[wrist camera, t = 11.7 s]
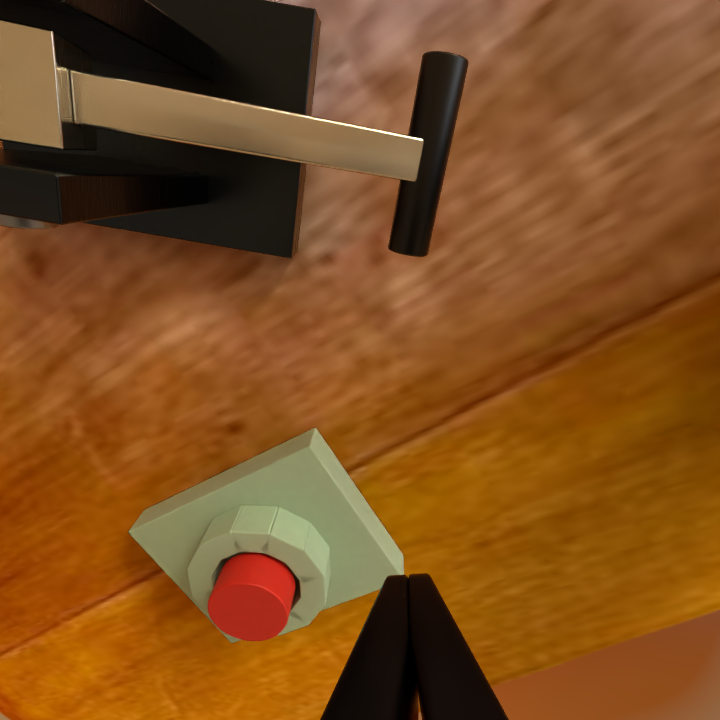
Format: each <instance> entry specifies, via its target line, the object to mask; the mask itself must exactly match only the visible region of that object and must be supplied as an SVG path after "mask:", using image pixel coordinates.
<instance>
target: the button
mask: <svg viewBox="0 0 720 720" xmlns="http://www.w3.org/2000/svg"><path fill="white" fill-rule="evenodd" d="M294 592H295V579H294V576H293V574H292V572H291V571H290V569H289V568H288V567H287V566H286V565H285V564H284V563H283V562H281V561H280V560H278V559H276V558H274V557H272V556H270V555H267V554H263V553H255V552H249V553H242V554H239V555H236V556H234V557H232V558H231V559H229V560H228V561H227V562H226V563H225V564H224V566H223V567H222V569H221V572H220V574H219V576H218V579H217V581H216V583H215V586H214V588H213V590H212V593H211V595H210V597H209V600H208V613H209V616H210V618H211V620H212V621H213V623H214V624H215V625H216V626H217V627H218V628H219V629H220V630H222V631H223V632H225V633H226V634H228V635H230V636H232V637H235V638H238V639H241V640H247V641H262V640H267V639H270V638H273V637H275V636H276V635H278V634H279V633H280V632H281V631H282V630H283V629H284V628H285V626H286V624H287V622H288V618H289V614H290V609H291V605H292V601H293V596H294Z"/></svg>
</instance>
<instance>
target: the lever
mask: <svg viewBox="0 0 720 720" xmlns="http://www.w3.org/2000/svg"><path fill="white" fill-rule="evenodd" d="M467 68H468V60H467V59H466V58H464V57H463V56H460V55H457V54H454V53H449V52H442V51H431V52H426V53H424V54H423V56H422V61H421V67H420V72H419V78H418V83H417V89H416V95H415V100H414V106H413V111H412V117H411V122H410V128H409V134H408V135H405V134H400V133H395V132H389V131H384V130H379V129H374V128H369V127H364V126H359V125H354V124H349V123H344V122H339V121H334V120H329V119H324V118H319V117H314V116H309V115H303V114H298V113H293V112H288V111H283V110H278V109H273V108H268V107H263V106H258V105H253V104H248V103H243V102H238V101H233V100H228V99H223V98H217V97H212V96H207V95H202V94H197V93H192V92H187V91H182V90H177V89H172V88H167V87H162V86H157V85H152V84H147V83H142V82H137V81H132V80H126V79H121V78H116V77H111V76H106V75H101V74H96V73H93V68H92V55H91V53H89V52H87V51H86V50H84V49H82V48H81V47H79V46H77V45H76V44H74V43H72V42H71V41H69V40H67V39H66V38H64V37H62V36H61V35H59V34H57V33H56V32H54V31H52V30H51V29H46V28H42V27H37V26H33V25H28V24H23V23H19V22H14V21H9V20H5V19H0V141H7V142H13V143H19V144H26V145H32V146H38V147H45V148H51V149H58V150H82V151H96V150H97V133H96V128H98V129H104V130H110V131H116V132H122V133H128V134H133V135H139V136H145V137H151V138H157V139H163V140H169V141H174V142H180V143H186V144H192V145H198V146H204V147H210V148H216V149H221V150H227V151H233V152H239V153H245V154H251V155H257V156H262V157H268V158H274V159H280V160H286V161H292V162H298V163H304V164H309V165H315V166H321V167H327V168H333V169H339V170H345V171H350V172H356V173H362V174H368V175H374V176H380V177H386V178H391V179H397V180H400V184H399V189H398V195H397V201H396V206H395V212H394V217H393V223H392V229H391V234H390V240H389V245H388V249H389V250H391V251H393V252H396V253H399V254H403V255H409V256H416V257H424V256H427V255H428V251H429V246H430V241H431V237H432V232H433V227H434V223H435V218H436V213H437V209H438V204H439V199H440V194H441V190H442V185H443V180H444V176H445V171H446V166H447V162H448V157H449V152H450V148H451V143H452V138H453V134H454V129H455V124H456V120H457V115H458V110H459V106H460V101H461V96H462V92H463V87H464V82H465V78H466V73H467Z"/></svg>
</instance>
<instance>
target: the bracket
mask: <svg viewBox="0 0 720 720" xmlns="http://www.w3.org/2000/svg"><path fill="white" fill-rule="evenodd" d="M0 19H5V20H9V21H14V22H19V23H23V24H28V25H33V26H37V27H42V28H46V29H51V30H52V31H54V32H56V33H57V34H59V35H61V36H62V37H64V38H66V39H67V40H69V41H71V42H72V43H74V44H76V45H77V46H79V47H81V48H82V49H84V50H86V51H87V52H89V53H91V55H92V68H93V73H96V74H101V75H106V76H111V77H116V78H121V79H126V80H132V81H137V82H142V83H147V84H152V85H157V86H162V87H167V88H172V89H177V90H182V91H187V92H192V93H197V94H202V95H207V96H212V97H217V98H223V99H228V100H233V101H238V102H243V103H248V104H253V105H258V106H263V107H268V108H273V109H278V110H283V111H288V112H293V113H298V114H303V115H309V116H311V114H312V104H313V94H314V84H315V75H316V65H317V55H318V45H319V36H320V26H321V21H320V18H319V16H318V14H317V12H316V10H315V9H312V8H307V7H301V6H295V5H289V4H283V3H277V2H272V1H266V0H0ZM96 133H97V150H96V151H82V150H58V149H51V148H45V147H38V146H32V145H26V144H19V143H13V142H7V141H2V142H3V149H0V226H4V227H10V228H20V229H50V228H55V227H58V226H59V225H63V224H70V223H77V222H82V223H88V224H94V225H100V226H105V227H111V228H117V229H123V230H129V231H135V232H140V233H146V234H152V235H158V236H164V237H170V238H176V239H181V240H187V241H193V242H199V243H205V244H211V245H216V246H222V247H228V248H234V249H240V250H246V251H251V252H257V253H263V254H269V255H275V256H281V257H286V258H292V257H293V256H294V255H295V254H297V250H298V240H299V231H300V221H301V211H302V201H303V192H304V182H305V172H306V164H304V163H298V162H292V161H286V160H280V159H274V158H268V157H262V156H257V155H251V154H245V153H239V152H233V151H227V150H221V149H216V148H210V147H204V146H198V145H192V144H186V143H180V142H174V141H169V140H163V139H157V138H151V137H145V136H139V135H133V134H128V133H122V132H116V131H110V130H104V129H98V128H96Z"/></svg>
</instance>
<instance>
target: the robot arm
mask: <svg viewBox="0 0 720 720" xmlns="http://www.w3.org/2000/svg"><path fill="white" fill-rule="evenodd" d="M418 695H419V702H420V709H421V716H422V720H509V719H508V718H507V716H506V714H505V712H504V710H503V708H502V706H501V705H500V703H499V701H498V699H497V697H496V695H495V694H494V692H493V690H492V688H491V686H490V685H489V683H488V681H487V679H486V677H485V675H484V674H483V672H482V670H481V668H480V666H479V664H478V663H477V661H476V659H475V657H474V655H473V653H472V652H471V650H470V648H469V646H468V644H467V642H466V641H465V639H464V637H463V635H462V633H461V631H460V630H459V628H458V626H457V624H456V622H455V620H454V619H453V617H452V615H451V613H450V611H449V609H448V608H447V606H446V604H445V602H444V600H443V598H442V597H441V595H440V593H439V591H438V589H437V587H436V586H435V584H434V582H433V580H432V578H431V577H430V575H429V574H426V573H424V574H411V575H409V577H407V576H406V575H389V576H387V577H386V579H385V581H384V583H383V585H382V587H381V589H380V592H379V594H378V596H377V598H376V600H375V602H374V605H373V607H372V609H371V611H370V613H369V615H368V618H367V620H366V622H365V624H364V626H363V628H362V630H361V633H360V635H359V637H358V639H357V641H356V643H355V646H354V648H353V650H352V652H351V654H350V656H349V659H348V661H347V663H346V665H345V667H344V669H343V671H342V674H341V676H340V678H339V680H338V682H337V684H336V687H335V689H334V691H333V693H332V695H331V697H330V700H329V702H328V704H327V706H326V708H325V710H324V712H323V715H322V717H321V719H320V720H418Z"/></svg>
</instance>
